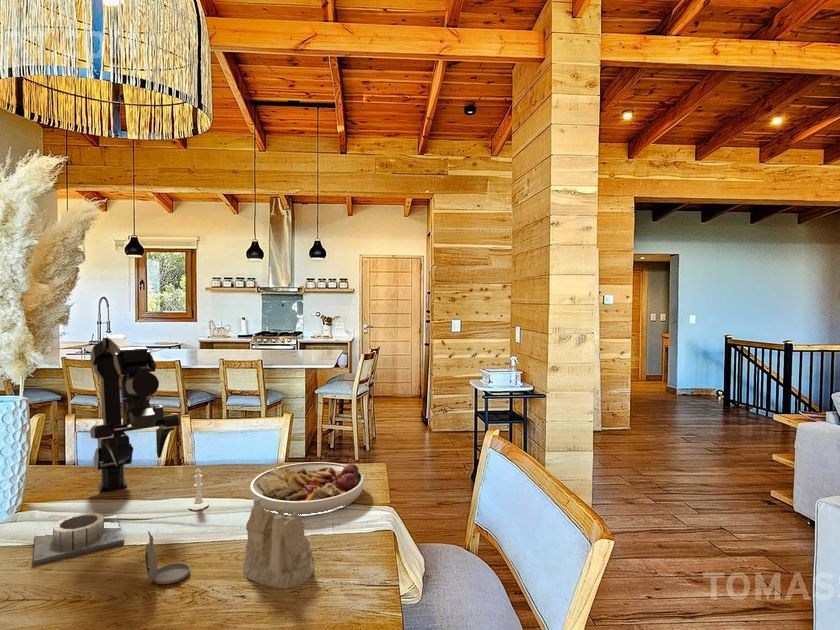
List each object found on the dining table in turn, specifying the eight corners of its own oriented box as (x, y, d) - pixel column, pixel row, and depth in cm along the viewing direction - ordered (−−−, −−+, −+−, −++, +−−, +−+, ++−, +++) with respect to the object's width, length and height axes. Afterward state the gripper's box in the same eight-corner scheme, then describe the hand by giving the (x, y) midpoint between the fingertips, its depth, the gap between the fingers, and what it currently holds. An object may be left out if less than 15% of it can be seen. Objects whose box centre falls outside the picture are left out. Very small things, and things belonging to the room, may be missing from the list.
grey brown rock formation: (281, 595, 95) (282, 512, 95) (227, 570, 104) (228, 495, 105) (340, 564, 107) (341, 491, 108) (287, 545, 117) (288, 478, 117)
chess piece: (201, 511, 131) (200, 472, 131) (184, 509, 132) (183, 471, 132) (212, 503, 136) (212, 466, 135) (196, 501, 137) (195, 464, 136)
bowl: (257, 531, 121) (257, 498, 121) (245, 487, 148) (244, 460, 148) (378, 510, 133) (378, 480, 133) (346, 472, 160) (346, 447, 160)
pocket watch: (197, 571, 103) (196, 522, 102) (163, 594, 95) (163, 541, 95) (165, 563, 106) (164, 515, 105) (130, 585, 98) (129, 534, 97)
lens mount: (35, 535, 118) (35, 517, 117) (117, 517, 127) (116, 501, 127) (33, 565, 104) (32, 546, 104) (124, 543, 114) (123, 526, 114)
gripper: (98, 402, 116) (102, 473, 114) (185, 392, 128) (189, 455, 127) (88, 403, 124) (91, 469, 122) (171, 393, 136) (175, 453, 135)
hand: (138, 461), depth 126 cm, fingers open, 9 cm apart
